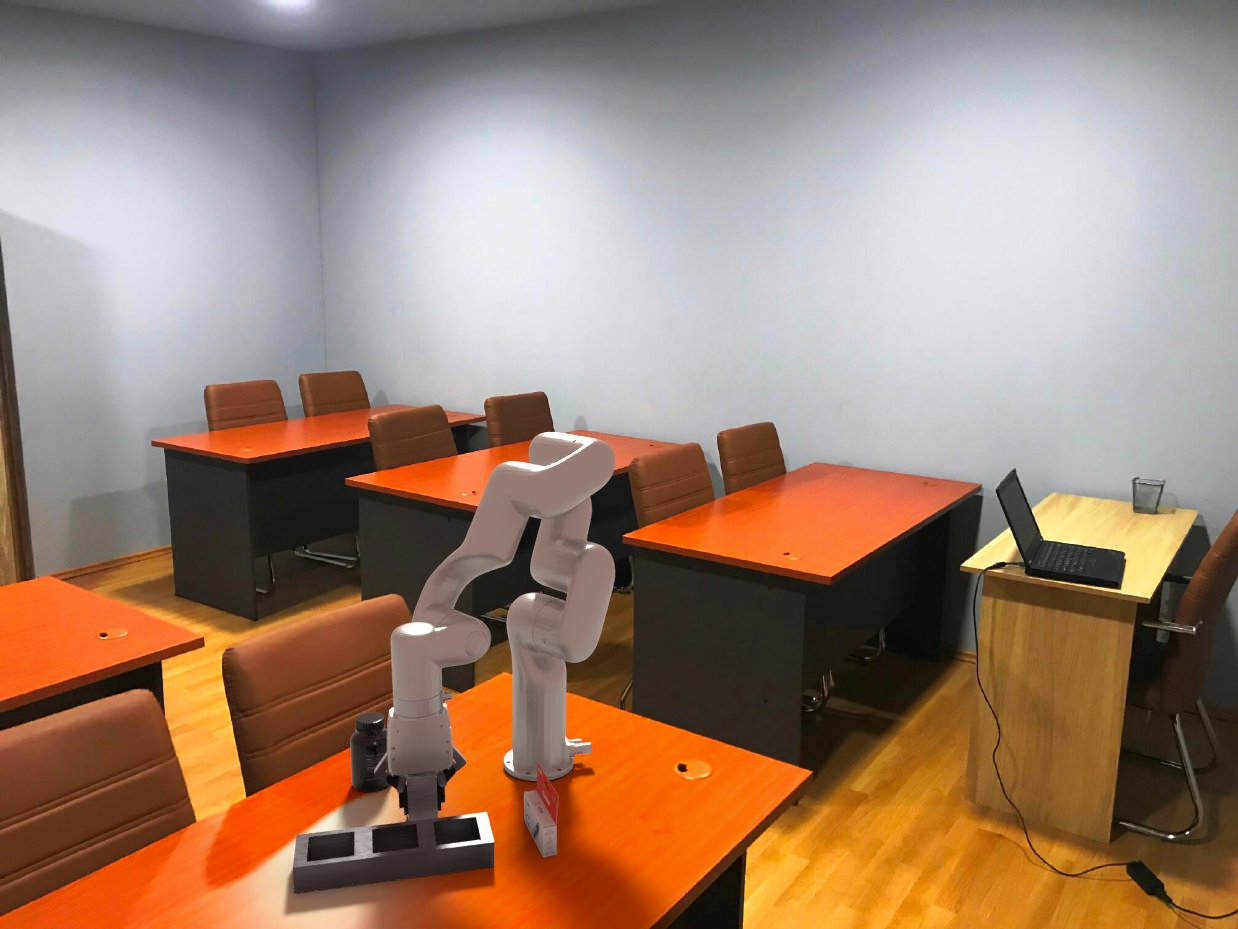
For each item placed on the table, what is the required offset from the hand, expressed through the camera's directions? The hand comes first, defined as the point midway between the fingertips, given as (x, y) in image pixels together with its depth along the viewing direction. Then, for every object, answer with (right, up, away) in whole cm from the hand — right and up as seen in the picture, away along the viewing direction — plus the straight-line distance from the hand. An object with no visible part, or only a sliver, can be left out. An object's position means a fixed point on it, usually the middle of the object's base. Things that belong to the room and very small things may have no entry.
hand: (422, 807), depth 153 cm
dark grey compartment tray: (-1, -4, -12) cm, 12 cm away
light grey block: (0, -1, 0) cm, 1 cm away
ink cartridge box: (+19, -3, -4) cm, 20 cm away
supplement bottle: (-11, 0, +11) cm, 16 cm away
